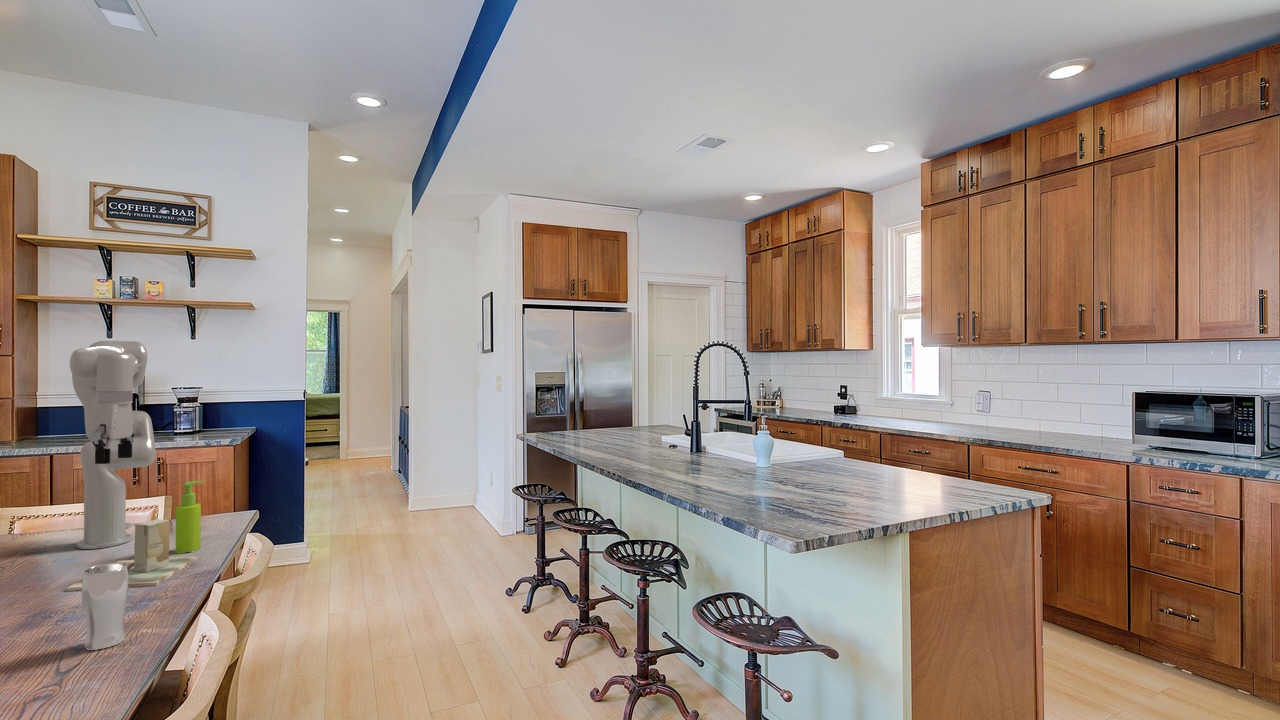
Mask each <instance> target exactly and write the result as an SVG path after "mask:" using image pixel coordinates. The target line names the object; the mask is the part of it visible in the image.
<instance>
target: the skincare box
mask: <svg viewBox="0 0 1280 720" xmlns="http://www.w3.org/2000/svg"><path fill="white" fill-rule="evenodd" d="M170 522H171V521H170V519H162V518H161V519H159V518H156V519H154V520H148V521H144V522H140V523H135V525H134V526H135V527H134V549H133V550H134V551H133V553H134V555H133V560H134V571H141V572H149V571H151V570H154V569H158V568H161V567H164V566H167V565H169V558H170V555H169V554H170V529H171V528H170V526H171V525H170V524H171V523H170Z"/></svg>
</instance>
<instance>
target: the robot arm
mask: <svg viewBox="0 0 1280 720" xmlns="http://www.w3.org/2000/svg"><path fill="white" fill-rule="evenodd" d="M147 365H148V351H147V348H146V347H145V345H144V344H143V343H142V342H139V341H134V340H133V341H131V340H129V341H126V340H98V341H97V342H93V343H91V344H90V345H89V346H88V347H82V348H78V349H75V350H73V351H72V353H71V355H70V358H69V369H70V372H71V374H72V375H71V380H72V382H71V383H72V385H73V389H74V392H75V394H76V396H77V398H78V400H79V402H80V403H81V405H82V407H83V410H84V427H85V434H86V435H85V436H86V437H87V439H88V440H89V441H88V442H86V443H84V444H83V445H82V447H81V449H80V454H79V456H80V463H81V468H82V474H83V539H81V540H78V541H77V542H76V548H77V549H82V550H92V549H102V548H111V547H114V546H119V545H123V544H126V543H128V542H130V541H131V540H132V539H133V536H132V534H130V533H126V530H128V529H130V528H131V527H132V523H131V522H126V518H127V517H126V509H127V508H126V505H127V504H126V503H127V501H126V500H127V497H126V495H127V488H126V482H125V480H124V478H122V477H121V476H120V475H119V474H118V473H116V472H115V471H117V470H123V469H124V470H125V469H134V468H135V469H136V468H143V467H144V468H145V467H148V466H151V465H152V464H153V463H154V461H155V460H156V454H157V452H156V450H157V449H156V443H155V442H156V441H155V435H154V429H153V423H152V418H151V416H150V415H149V414H148V413H147V412H146V411H143V410H133V405H132V404H133V402H134V401H133V399H134V398H133V393H134V392H133V390H134V389H133V388H137V387H140V386H141V385H142V383H144V379H145V377H146V376H145V374H146V369H147Z"/></svg>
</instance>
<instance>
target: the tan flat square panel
mask: <svg viewBox="0 0 1280 720" xmlns="http://www.w3.org/2000/svg"><path fill="white" fill-rule="evenodd" d="M195 559H196V560H197V556H187V557H186V556H185V557H169V565H167V566H164V567H161V568H158V569H154V570H151V571H149V572H141V571H134V559H130V560H116V561H115V562H114V563H126V564H127V570H128V584H129V585H128V588H139V587H154V586H159V585H160V584H161V583H163V582H165V581H166V580H168V579H169V578H170V577H173V576H174V575H176V574H177V573H178V572H180V571H181V570H183V569H184V568H186V567H187V566H189V565H190V564H192V563H193V562H195V561H196V560H195ZM194 560H195V561H194ZM192 561H193V562H192ZM191 562H192V563H191ZM188 564H189V565H188ZM185 566H186V567H185ZM182 568H183V569H182ZM179 570H180V571H179ZM176 572H177V573H176ZM82 582H83V578H82V579H80V580H79V581H78V582H75V583H73V584H71V585H70V586H67V587H66V588H65V589H66V592H73V591H75V592H76V590H78V591H82Z"/></svg>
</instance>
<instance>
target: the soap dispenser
mask: <svg viewBox="0 0 1280 720" xmlns="http://www.w3.org/2000/svg"><path fill="white" fill-rule="evenodd" d="M204 483H205V481H202V480H191V481H186V482H183V483H181V486H182V487H184V492H183V493H181V501H180V503H181V504H180V505H177V506H176V507H175V553H176V552H177V553H176V554H180V553H183V554H187V553H186V552H191V553H193V552H192V551H195V552H197V551H196V550H198V549H200V550H201V540H202V539H201V536H202V535H201V533H202V530H201V529H202V523H201V522H202V520H201V518H202V514H201V513H202V511H201V510H202V505H201V504H200V503H196V502H197V496H196V495H197V494H196V492H194V491H193V485H196V484H204ZM198 551H199V550H198Z"/></svg>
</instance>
